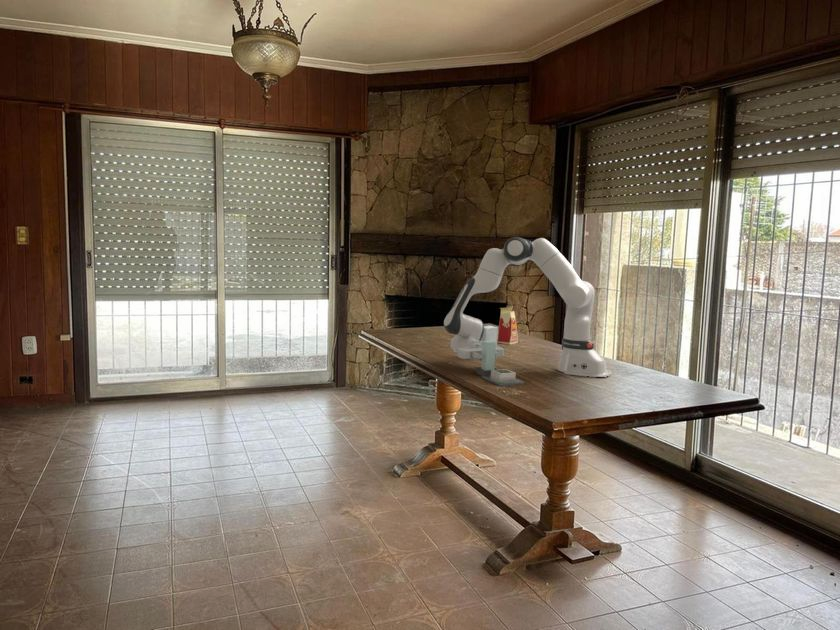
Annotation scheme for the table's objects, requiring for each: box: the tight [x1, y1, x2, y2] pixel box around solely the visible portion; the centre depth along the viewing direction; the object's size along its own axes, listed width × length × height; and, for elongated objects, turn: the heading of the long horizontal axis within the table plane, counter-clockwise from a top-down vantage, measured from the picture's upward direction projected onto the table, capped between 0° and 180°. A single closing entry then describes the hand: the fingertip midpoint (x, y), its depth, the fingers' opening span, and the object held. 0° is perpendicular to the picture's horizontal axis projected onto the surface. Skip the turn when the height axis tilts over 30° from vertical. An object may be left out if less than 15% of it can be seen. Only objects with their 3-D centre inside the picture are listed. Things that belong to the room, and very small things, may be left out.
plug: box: [480, 341, 496, 371], centre depth 264 cm, size 4×4×14 cm
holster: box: [475, 366, 499, 377], centre depth 264 cm, size 7×7×2 cm
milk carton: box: [497, 305, 519, 345], centre depth 342 cm, size 9×9×20 cm
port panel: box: [481, 368, 525, 387], centre depth 254 cm, size 14×11×4 cm
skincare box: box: [481, 324, 499, 346], centre depth 299 cm, size 8×6×15 cm
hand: (489, 356), depth 263 cm, fingers open, 6 cm apart
